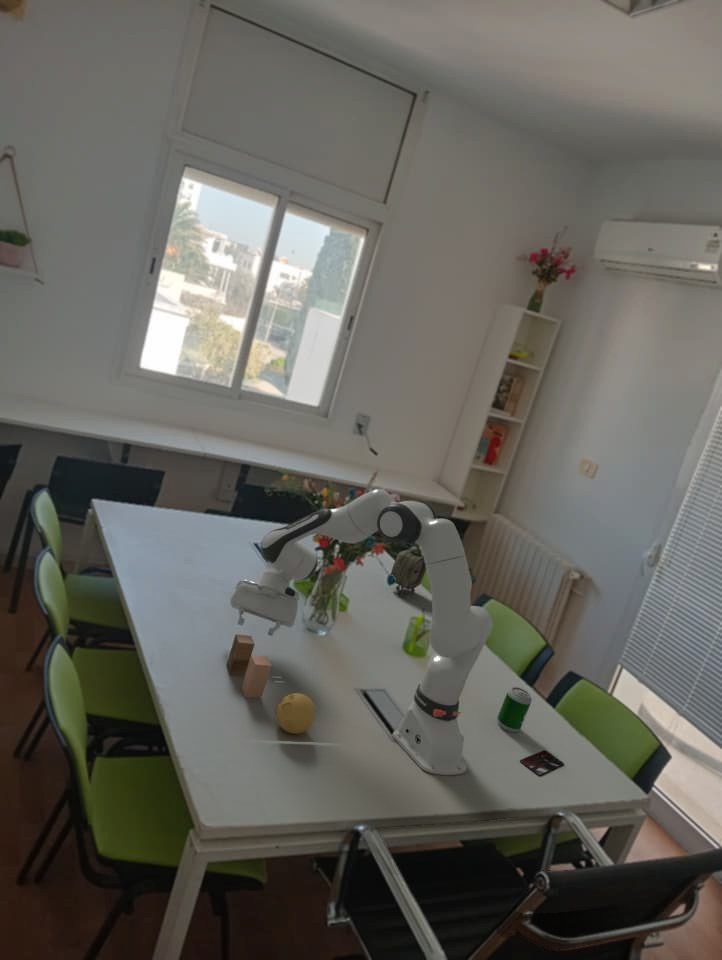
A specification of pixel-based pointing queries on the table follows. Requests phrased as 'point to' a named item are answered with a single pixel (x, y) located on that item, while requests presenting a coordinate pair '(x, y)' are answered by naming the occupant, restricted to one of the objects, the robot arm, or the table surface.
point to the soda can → (514, 709)
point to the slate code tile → (278, 681)
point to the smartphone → (541, 763)
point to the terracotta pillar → (256, 677)
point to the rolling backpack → (409, 569)
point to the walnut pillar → (240, 655)
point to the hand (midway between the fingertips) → (254, 629)
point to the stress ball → (296, 713)
